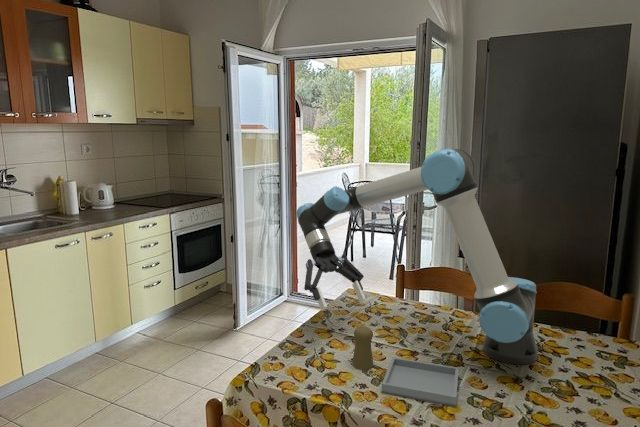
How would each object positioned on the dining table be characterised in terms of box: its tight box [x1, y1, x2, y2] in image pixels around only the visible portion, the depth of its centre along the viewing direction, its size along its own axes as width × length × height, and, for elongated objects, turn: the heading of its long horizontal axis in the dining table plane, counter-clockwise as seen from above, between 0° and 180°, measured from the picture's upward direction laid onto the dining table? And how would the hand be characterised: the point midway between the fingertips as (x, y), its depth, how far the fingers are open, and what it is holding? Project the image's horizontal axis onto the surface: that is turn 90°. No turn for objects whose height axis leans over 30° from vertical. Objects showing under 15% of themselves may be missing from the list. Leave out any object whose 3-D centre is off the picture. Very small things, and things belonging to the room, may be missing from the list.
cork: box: [351, 326, 374, 371], centre depth 125 cm, size 6×6×11 cm
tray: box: [381, 356, 460, 408], centre depth 115 cm, size 18×15×2 cm
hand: (344, 305), depth 132 cm, fingers open, 13 cm apart
